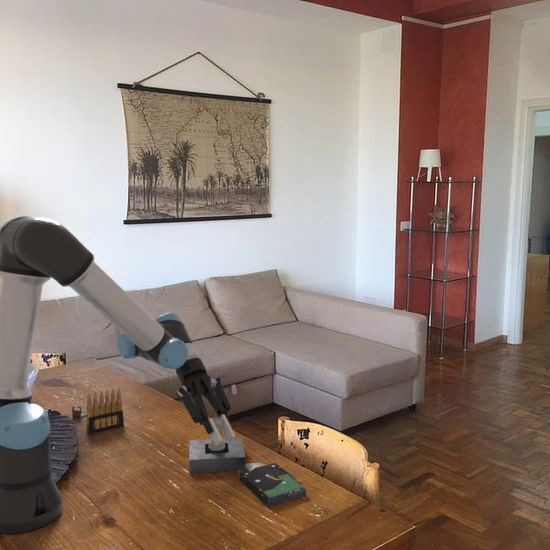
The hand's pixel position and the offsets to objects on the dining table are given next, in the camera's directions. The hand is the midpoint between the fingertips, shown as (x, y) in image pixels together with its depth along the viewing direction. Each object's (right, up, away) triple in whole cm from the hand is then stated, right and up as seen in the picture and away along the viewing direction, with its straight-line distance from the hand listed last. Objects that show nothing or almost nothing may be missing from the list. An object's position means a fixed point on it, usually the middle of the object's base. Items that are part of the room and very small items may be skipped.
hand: (225, 441), depth 152 cm
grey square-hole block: (-3, -6, +4) cm, 8 cm away
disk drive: (+12, -9, -10) cm, 18 cm away
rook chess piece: (-3, -3, +3) cm, 5 cm away
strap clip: (-49, -3, +33) cm, 59 cm away
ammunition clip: (-37, -4, +24) cm, 45 cm away
